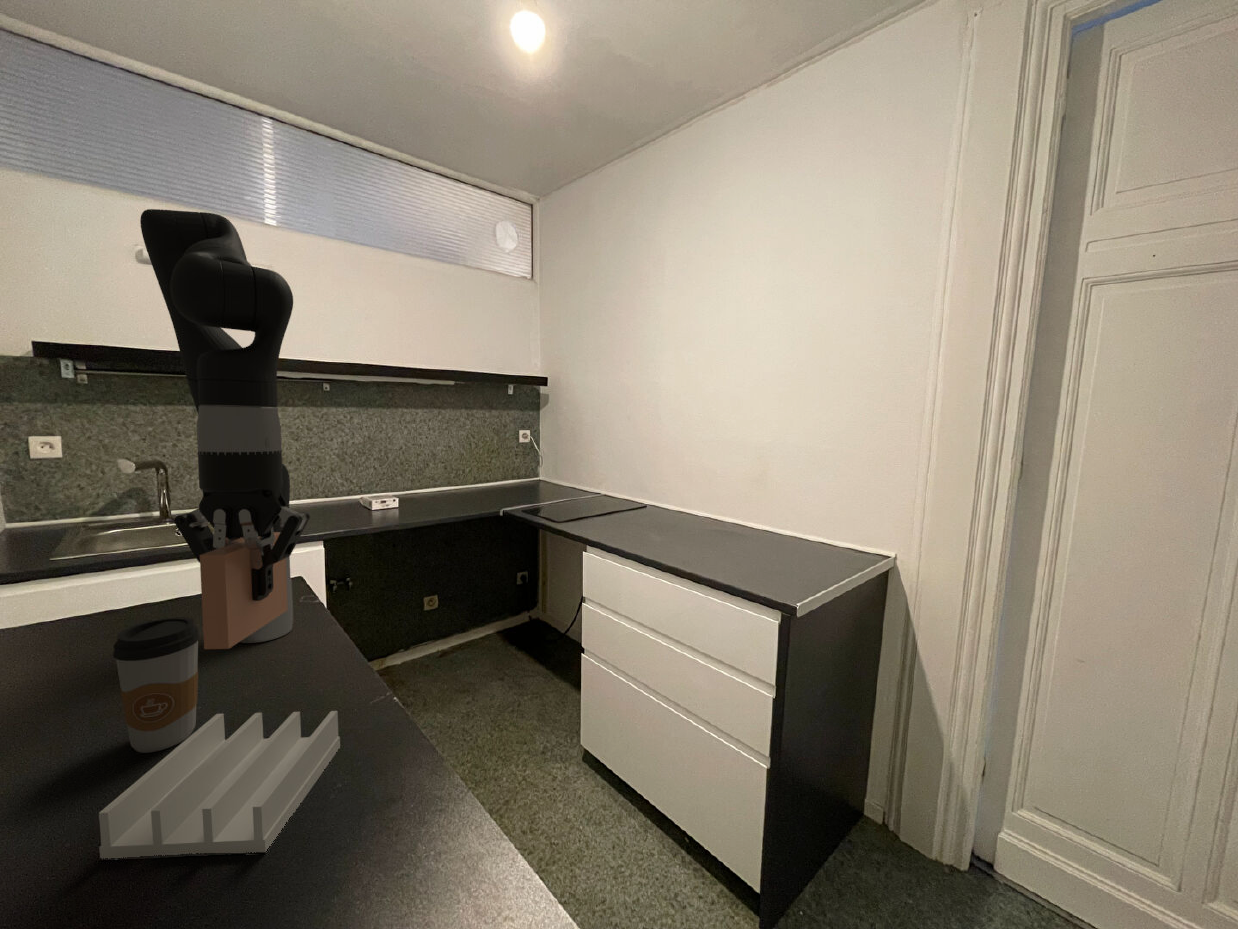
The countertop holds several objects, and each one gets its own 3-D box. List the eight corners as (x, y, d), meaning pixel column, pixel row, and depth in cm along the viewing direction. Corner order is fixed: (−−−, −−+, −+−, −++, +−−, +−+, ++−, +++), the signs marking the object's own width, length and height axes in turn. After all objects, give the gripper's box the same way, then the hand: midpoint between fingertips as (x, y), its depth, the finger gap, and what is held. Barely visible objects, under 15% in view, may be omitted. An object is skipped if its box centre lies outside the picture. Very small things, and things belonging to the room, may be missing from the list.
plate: (267, 610, 64) (264, 532, 63) (287, 610, 64) (284, 532, 63) (204, 649, 53) (199, 555, 52) (228, 648, 53) (224, 555, 52)
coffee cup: (108, 767, 61) (98, 648, 60) (134, 728, 68) (126, 621, 67) (195, 747, 65) (189, 635, 63) (212, 713, 72) (206, 611, 71)
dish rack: (217, 751, 64) (215, 713, 64) (340, 747, 66) (339, 711, 65) (100, 861, 49) (96, 813, 48) (265, 853, 50) (263, 806, 49)
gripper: (323, 446, 61) (326, 587, 62) (199, 445, 60) (205, 588, 61) (288, 450, 53) (293, 610, 55) (145, 448, 52) (154, 612, 53)
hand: (247, 598), depth 58 cm, fingers closed on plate, 2 cm apart
